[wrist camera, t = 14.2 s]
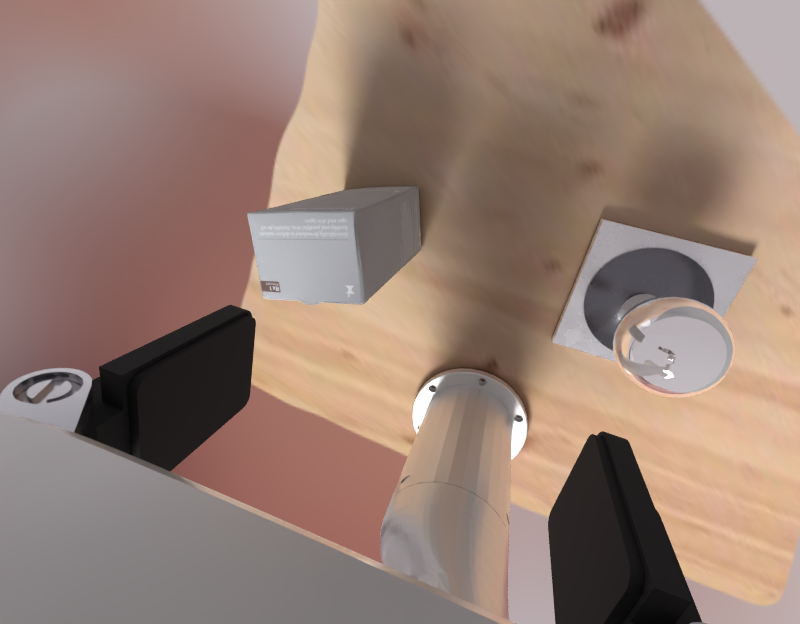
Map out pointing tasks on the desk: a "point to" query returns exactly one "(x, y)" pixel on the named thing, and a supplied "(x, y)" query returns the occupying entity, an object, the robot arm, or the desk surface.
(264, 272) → the skincare box
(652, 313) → the light bulb
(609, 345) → the duct plate
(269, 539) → the robot arm
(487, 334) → the desk surface
